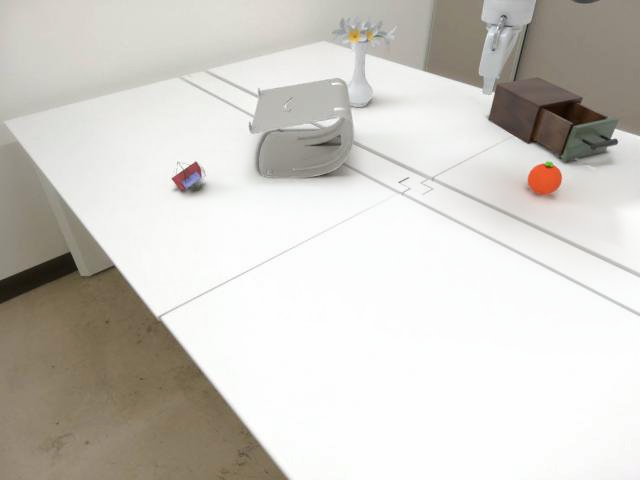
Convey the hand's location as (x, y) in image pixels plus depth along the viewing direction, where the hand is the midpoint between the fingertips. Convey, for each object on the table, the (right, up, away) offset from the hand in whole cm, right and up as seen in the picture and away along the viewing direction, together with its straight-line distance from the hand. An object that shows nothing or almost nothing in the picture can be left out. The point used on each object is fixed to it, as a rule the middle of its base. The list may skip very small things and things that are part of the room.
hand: (491, 85), depth 92 cm
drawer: (+30, -7, +27) cm, 41 cm away
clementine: (+16, -20, +13) cm, 28 cm away
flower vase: (-22, +12, +53) cm, 59 cm away
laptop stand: (-39, -9, +27) cm, 48 cm away
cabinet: (+25, +1, +39) cm, 46 cm away
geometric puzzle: (-64, -19, +14) cm, 69 cm away
